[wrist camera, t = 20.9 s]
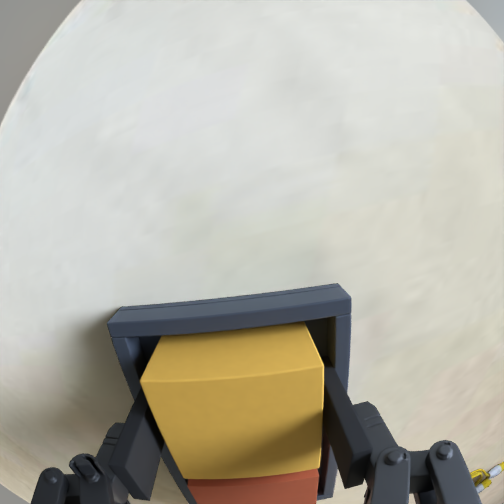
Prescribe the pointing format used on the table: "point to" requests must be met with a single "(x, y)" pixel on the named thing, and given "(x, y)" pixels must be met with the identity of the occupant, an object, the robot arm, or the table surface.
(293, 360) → the pad mustard
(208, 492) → the pad terracotta
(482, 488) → the coiled yellow cable
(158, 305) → the tray
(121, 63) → the table surface
